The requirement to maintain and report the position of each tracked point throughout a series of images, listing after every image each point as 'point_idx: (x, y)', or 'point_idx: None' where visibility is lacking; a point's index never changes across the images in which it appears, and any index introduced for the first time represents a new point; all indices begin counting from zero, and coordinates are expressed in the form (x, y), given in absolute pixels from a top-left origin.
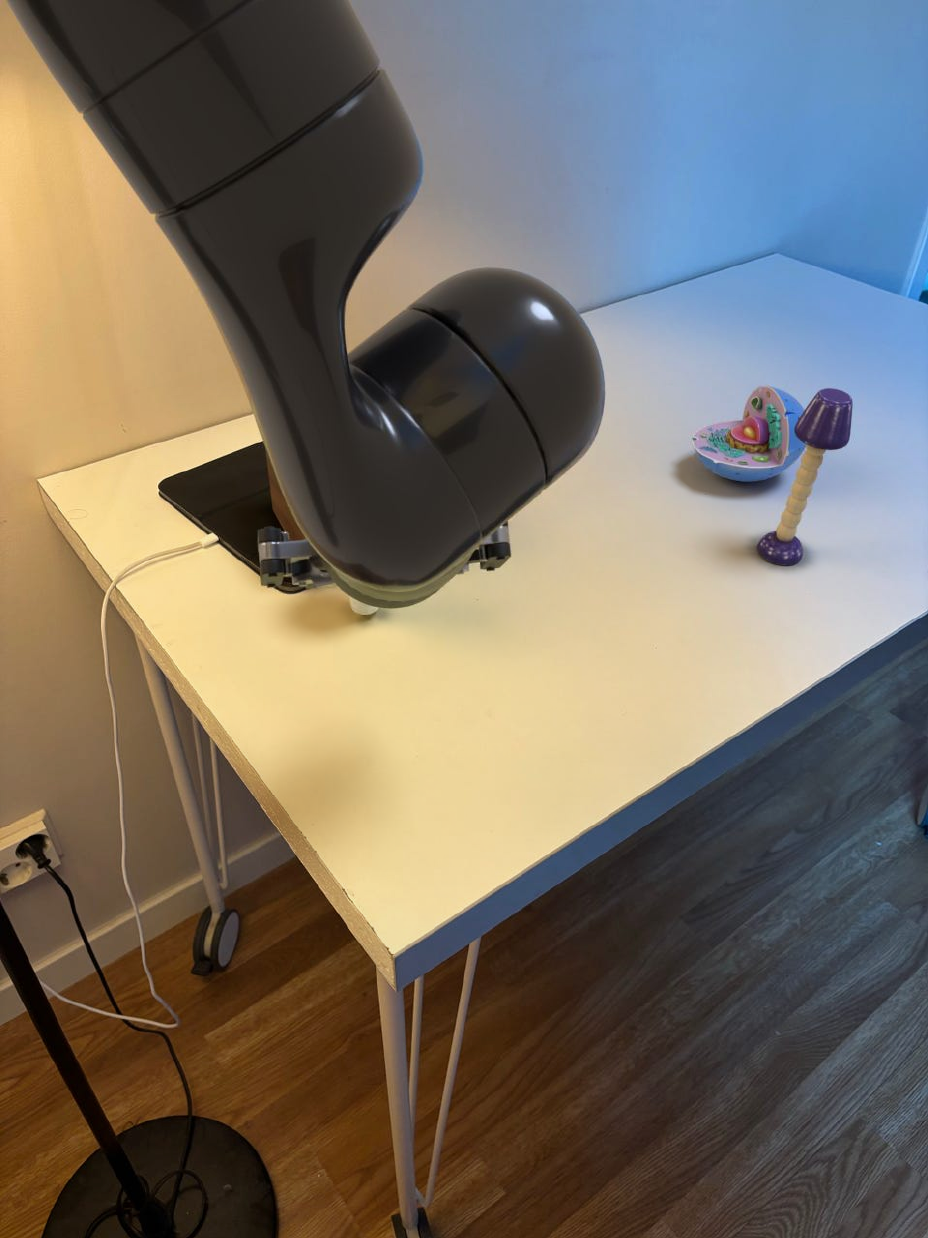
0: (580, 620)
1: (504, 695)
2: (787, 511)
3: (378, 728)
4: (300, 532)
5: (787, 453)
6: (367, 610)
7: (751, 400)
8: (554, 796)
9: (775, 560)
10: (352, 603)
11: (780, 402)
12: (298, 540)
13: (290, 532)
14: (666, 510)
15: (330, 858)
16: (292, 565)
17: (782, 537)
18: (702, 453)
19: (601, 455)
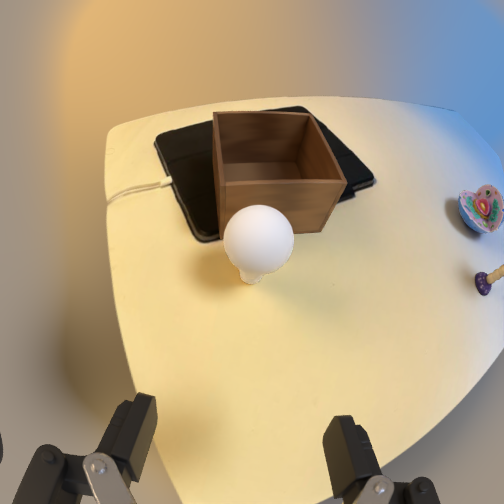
0: (393, 321)
1: (330, 386)
2: (498, 272)
3: (231, 398)
4: (217, 199)
5: (496, 229)
6: (250, 282)
7: (486, 190)
8: None
9: (481, 291)
10: (240, 274)
11: (502, 202)
12: (95, 469)
13: (215, 189)
14: (442, 235)
15: (176, 485)
16: (91, 491)
17: (489, 282)
18: (465, 209)
19: (413, 182)
